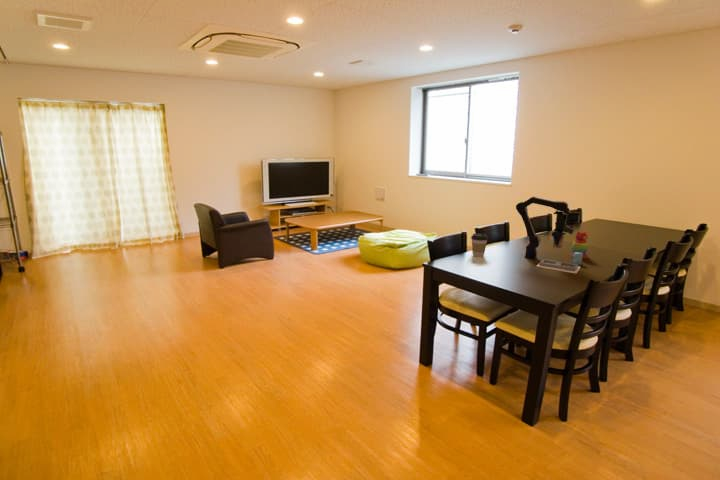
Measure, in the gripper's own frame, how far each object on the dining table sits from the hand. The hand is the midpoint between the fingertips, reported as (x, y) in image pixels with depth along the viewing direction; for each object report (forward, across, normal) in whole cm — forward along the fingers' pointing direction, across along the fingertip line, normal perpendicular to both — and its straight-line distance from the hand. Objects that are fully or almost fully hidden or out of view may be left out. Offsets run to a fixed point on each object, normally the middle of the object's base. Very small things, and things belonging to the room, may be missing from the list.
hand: (557, 244), depth 266 cm
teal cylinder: (+11, +2, -12) cm, 17 cm away
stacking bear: (+12, +20, -11) cm, 26 cm away
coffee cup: (+12, -18, +46) cm, 51 cm away
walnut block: (+2, 0, 0) cm, 2 cm away
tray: (+11, -13, -4) cm, 18 cm away
